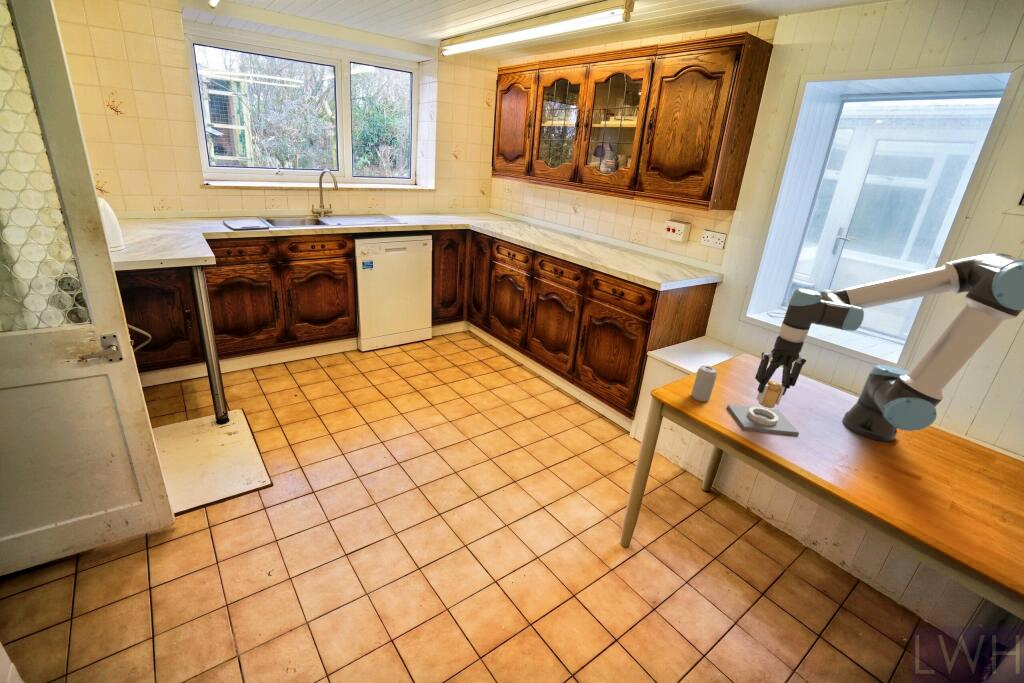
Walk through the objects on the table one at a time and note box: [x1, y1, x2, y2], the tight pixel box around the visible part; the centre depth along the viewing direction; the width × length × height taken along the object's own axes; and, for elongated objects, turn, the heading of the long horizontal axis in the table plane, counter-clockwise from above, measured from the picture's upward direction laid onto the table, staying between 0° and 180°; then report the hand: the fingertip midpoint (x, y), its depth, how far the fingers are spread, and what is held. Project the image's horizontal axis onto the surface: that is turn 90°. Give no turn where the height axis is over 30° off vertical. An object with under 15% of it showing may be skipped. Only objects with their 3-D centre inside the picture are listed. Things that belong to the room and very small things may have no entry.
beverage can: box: [691, 365, 718, 403], centre depth 170 cm, size 6×6×12 cm
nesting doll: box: [758, 380, 781, 409], centre depth 157 cm, size 5×5×8 cm
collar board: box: [726, 404, 800, 436], centre depth 161 cm, size 18×14×3 cm
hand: (767, 401), depth 159 cm, fingers closed on nesting doll, 5 cm apart
